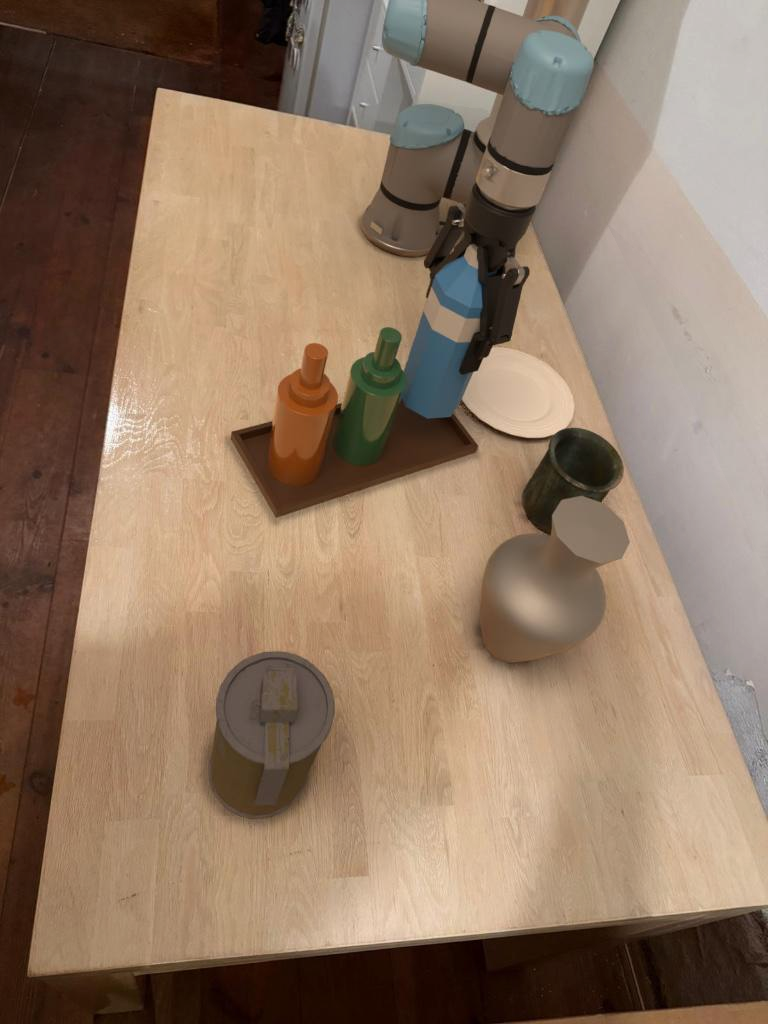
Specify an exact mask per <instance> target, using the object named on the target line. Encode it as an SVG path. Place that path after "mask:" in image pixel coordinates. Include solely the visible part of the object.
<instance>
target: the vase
mask: <svg viewBox="0 0 768 1024" xmlns="http://www.w3.org/2000/svg"><path fill="white" fill-rule="evenodd" d="M630 543H631V541H630V537H629V534H628V532H627V527H626V525H625V521H624V520H623V519H622V518H621V517H620V516H618V515H617V514H616V512H615V511H613V510H612V509H611V508H610V507H609V506H608V505H607V504H606V503H604V502H598V501H595V500H592V499H590V498H587V497H584V496H578V497H574V498H569V499H564V500H561V502H560V503H559V505H558V506H557V508H556V510H555V511H554V513H553V514H552V531H551V534H545V533H535V532H531V533H523V534H519V535H515V536H512V537H510V538H508V539H506V540H505V541H503V542H502V543H500V544H499V545H498V546H497V547H496V548H495V549H494V550H493V551H492V553H491V555H490V556H489V558H488V560H487V561H486V563H485V568H484V571H483V575H482V580H481V581H482V582H481V590H480V601H479V602H480V604H479V623H480V624H479V625H480V631H481V632H480V633H481V639H482V644H483V647H484V648H485V649H486V650H487V651H488V652H489V654H491V656H492V657H493V659H496V660H499V661H501V662H504V663H508V664H513V663H520V662H521V663H523V662H529V661H534V660H539V659H542V658H546V657H549V656H552V655H555V654H558V653H561V652H564V651H567V650H569V649H571V648H573V647H577V646H578V645H580V644H582V643H583V642H584V641H586V640H588V639H590V637H591V636H593V634H594V633H596V631H597V630H598V628H599V627H600V625H601V623H602V621H603V620H604V616H605V613H606V608H607V595H606V589H605V585H604V583H603V580H602V577H601V575H600V573H599V571H598V570H597V569H598V568H600V567H603V566H604V565H607V564H609V563H612V562H616V561H619V560H622V559H623V557H624V555H625V553H626V551H627V549H628V547H629V546H630Z"/></svg>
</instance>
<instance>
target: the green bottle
mask: <svg viewBox="0 0 768 1024" xmlns="http://www.w3.org/2000/svg"><path fill="white" fill-rule="evenodd" d="M402 338H403V337H402V333H401V332H400V331H399V330H398V329H396V328H394V327H388V326H386V327H383V328H381V329H380V331H379V334H378V337H377V341H376V345H375V347H374V348H375V349H374V351H371V352H369V353H367V354H366V355H364V356H363V357H360V358H358V359H356V360H355V361H354V362H353V363H352V365H351V367H350V370H349V374H348V379H347V382H346V386H345V390H344V393H343V394H344V395H343V397H342V402H341V403H342V406H341V410H340V414H339V418H338V422H337V426H336V429H335V433H334V437H333V447H334V450H335V452H336V453H337V454H338V456H339V457H340V458H342V459H343V460H345V461H346V462H348V463H351V464H354V465H360V466H366V465H371V464H374V463H375V462H377V461H378V460H379V459H380V458H381V457H382V455H383V452H384V449H385V447H386V444H387V441H388V438H389V435H390V432H391V429H392V426H393V423H394V420H395V417H396V414H397V411H398V408H399V405H400V402H401V399H402V396H403V393H404V390H405V387H406V384H407V379H406V375H405V373H404V369H403V368H402V366H401V363H400V361H399V359H397V355H398V352H399V349H400V345H401V342H402Z"/></svg>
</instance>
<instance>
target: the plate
mask: <svg viewBox="0 0 768 1024" xmlns="http://www.w3.org/2000/svg"><path fill="white" fill-rule="evenodd" d="M461 402H462V403H463V404H464V406H465V407H466V408H467V410H468V411H469V412H470V413H472V414H473V415H474V416H475V417H476V418H477V419H478V420H479V421H480V422H483V423H484V424H485V425H487V426H489V427H490V428H491V429H494V430H497V431H499V432H500V433H501V432H502V433H504V434H507V435H508V436H513V437H517V438H524V439H545V438H548V437H552V436H553V435H554V434H555V433H557V432H558V431H560V430H562V429H565V428H568V426H569V425H570V423H571V422H572V420H573V419H574V416H575V415H574V414H575V410H576V406H575V400H574V395H573V393H572V391H571V390H570V387H569V385H568V384H567V382H566V381H565V379H563V378H562V376H561V375H560V374H559V373H558V372H557V371H556V370H555V369H553V367H551V366H550V365H549V364H548V363H546V362H544V361H542V360H541V359H539V358H537V357H535V356H534V355H532V354H529V353H526V352H524V351H522V350H517V349H514V348H508V347H502V346H501V347H500V346H499V347H497V346H493V347H492V349H491V351H490V354H489V356H488V357H486V358H483V360H482V362H481V365H480V367H479V369H478V371H475V372H473V374H472V376H471V379H470V381H469V383H468V386H467V388H466V390H465V393H464V395H463V397H462V400H461Z"/></svg>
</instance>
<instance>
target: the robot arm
mask: <svg viewBox="0 0 768 1024" xmlns="http://www.w3.org/2000/svg"><path fill="white" fill-rule="evenodd" d="M485 1H486V0H388V3H387V6H386V11H385V15H384V19H383V25H382V32H381V45H382V48H383V50H384V51H385V53H387V55H389V56H392V57H394V58H397V59H400V60H402V61H403V62H407V63H409V65H410V66H412V67H418V68H421V69H425V70H428V71H431V72H433V73H437V74H440V75H442V76H443V75H444V76H446V77H449V78H452V79H456V80H458V81H461V82H466V83H468V84H471V85H472V86H475V87H478V88H481V89H483V90H486V91H490V92H492V93H495V94H496V95H495V97H494V101H493V105H492V106H491V107H492V108H491V111H490V113H489V116H488V117H486V118H483V119H481V120H480V121H479V122H478V124H477V125H476V127H475V131H472V130H469V129H466V128H465V120H464V118H463V117H462V115H461V114H460V113H458V112H455V110H454V109H452V108H449V107H446V106H443V105H438V104H431V103H420V104H414V105H410V106H408V107H406V108H404V109H403V110H402V111H400V112H399V113H398V115H397V117H396V119H395V122H394V125H393V128H392V132H391V134H390V135H389V146H388V151H387V155H386V159H385V163H384V167H383V172H382V176H381V180H380V185H379V187H378V190H377V191H376V193H375V195H373V196H374V197H373V198H372V200H371V202H370V203H369V205H368V206H367V207H366V208H365V211H364V212H363V216H362V220H361V226H360V227H361V231H362V232H363V233H362V234H363V235H364V236H365V237H366V239H367V240H369V242H370V243H372V244H373V245H374V246H376V247H377V248H379V249H380V250H382V251H385V252H387V253H390V254H392V255H396V256H401V257H405V258H406V257H407V258H418V257H423V256H426V257H424V260H423V266H424V268H425V269H428V270H429V279H430V280H429V284H428V287H427V290H426V294H425V298H426V301H425V304H424V308H425V305H426V302H427V299H428V296H429V293H430V290H431V287H432V284H433V281H434V278H435V275H436V274H437V273H438V272H439V271H440V270H441V269H442V268H443V267H444V266H445V265H446V264H448V263H450V262H452V261H454V260H456V259H458V258H459V257H461V256H462V255H464V254H465V252H466V249H467V247H468V246H469V245H470V244H476V246H477V247H478V249H477V260H478V282H479V283H481V289H482V310H481V312H480V332H476V333H474V335H473V337H472V340H471V342H470V345H469V347H468V349H467V352H466V354H465V357H464V359H463V362H462V364H461V367H460V369H459V372H460V373H461V375H464V374H468V373H471V372H475V371H478V369H479V367H480V365H481V362H482V360H483V358H486V357H488V356H489V354H490V351H491V349H492V347H494V346H497V345H501V344H506V343H510V341H511V340H512V336H513V331H514V327H515V322H516V318H517V314H518V309H519V305H520V301H521V296H522V292H523V288H524V285H525V283H526V282H527V279H528V278H529V276H530V274H531V270H530V268H529V266H527V265H525V266H524V265H523V266H521V264H519V262H518V261H517V260H516V250H517V249H516V248H517V245H518V243H519V242H520V241H521V239H522V238H523V237H524V236H525V234H526V233H527V231H528V228H529V226H530V223H531V221H532V219H533V217H534V214H535V212H536V209H537V208H536V207H537V206H536V205H538V203H540V200H541V198H542V196H543V193H544V192H545V191H544V190H545V188H546V186H547V183H548V180H549V178H550V176H551V174H552V172H553V171H552V170H553V168H554V165H555V162H556V159H557V157H558V155H559V152H560V150H561V148H562V145H563V143H564V140H565V138H566V136H567V135H568V132H569V129H570V127H571V125H572V122H573V120H574V118H575V116H576V113H577V111H578V108H579V107H580V105H581V103H582V102H583V101H584V98H585V96H586V94H587V91H586V90H587V88H588V85H589V81H590V79H591V76H592V73H593V71H594V68H595V67H594V66H595V59H594V56H593V54H592V52H591V51H590V50H588V48H587V46H586V45H585V44H583V43H582V39H581V37H580V34H579V32H578V31H579V28H580V26H581V23H582V21H583V19H584V16H585V13H586V11H587V9H588V6H589V3H590V1H591V0H527V2H526V5H525V9H524V11H523V14H522V15H521V14H517V13H515V12H514V13H513V12H511V11H508V10H505V9H502V8H499V7H496V6H495V5H492V4H488V3H486V2H485ZM442 198H444V199H446V200H449V201H453V202H456V203H458V204H457V205H450V206H449V207H448V211H447V215H446V218H445V221H444V220H443V221H442V220H440V204H441V202H442V201H441V200H442ZM440 226H442V228H440ZM462 234H463V237H462V239H461V240H460V241H459V242H458V240H459V239H460V238H461V236H462ZM494 271H497V272H496V273H495V274H493V275H488V273H489V272H494ZM424 308H423V311H424ZM423 311H422V314H423ZM422 314H421V315H422ZM491 327H492V328H491Z"/></svg>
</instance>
